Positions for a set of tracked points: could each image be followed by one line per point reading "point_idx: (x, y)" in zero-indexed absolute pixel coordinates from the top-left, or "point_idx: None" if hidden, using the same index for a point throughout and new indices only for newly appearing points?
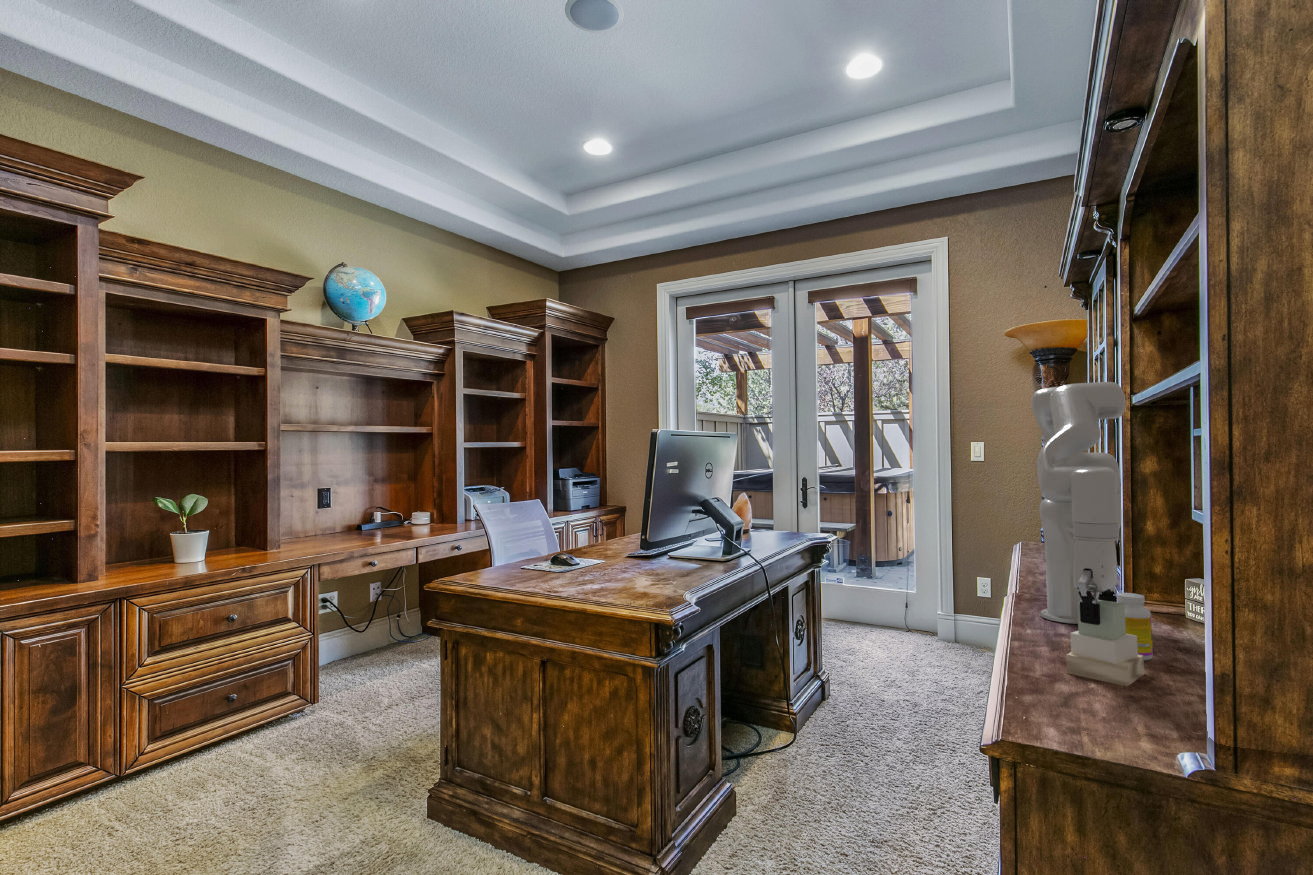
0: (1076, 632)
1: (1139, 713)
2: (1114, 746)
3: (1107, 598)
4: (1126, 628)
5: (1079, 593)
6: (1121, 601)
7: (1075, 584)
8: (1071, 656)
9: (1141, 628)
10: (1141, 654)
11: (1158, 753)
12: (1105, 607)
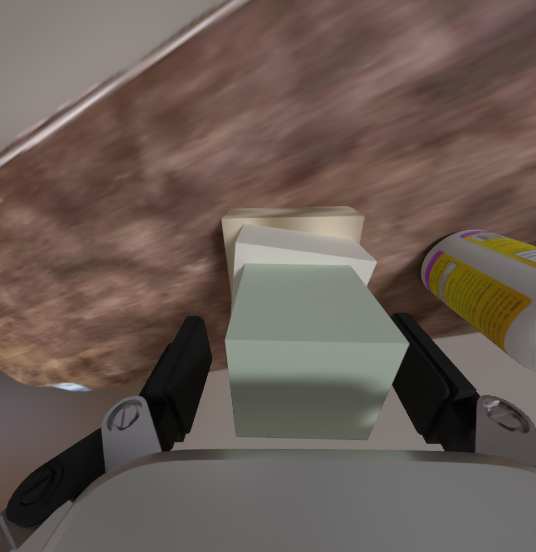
0: (257, 253)
1: (140, 340)
2: (13, 348)
3: (420, 403)
4: (476, 301)
5: (20, 486)
6: None
7: (51, 535)
8: (224, 231)
9: (478, 330)
10: (429, 289)
11: (49, 374)
12: (235, 421)
